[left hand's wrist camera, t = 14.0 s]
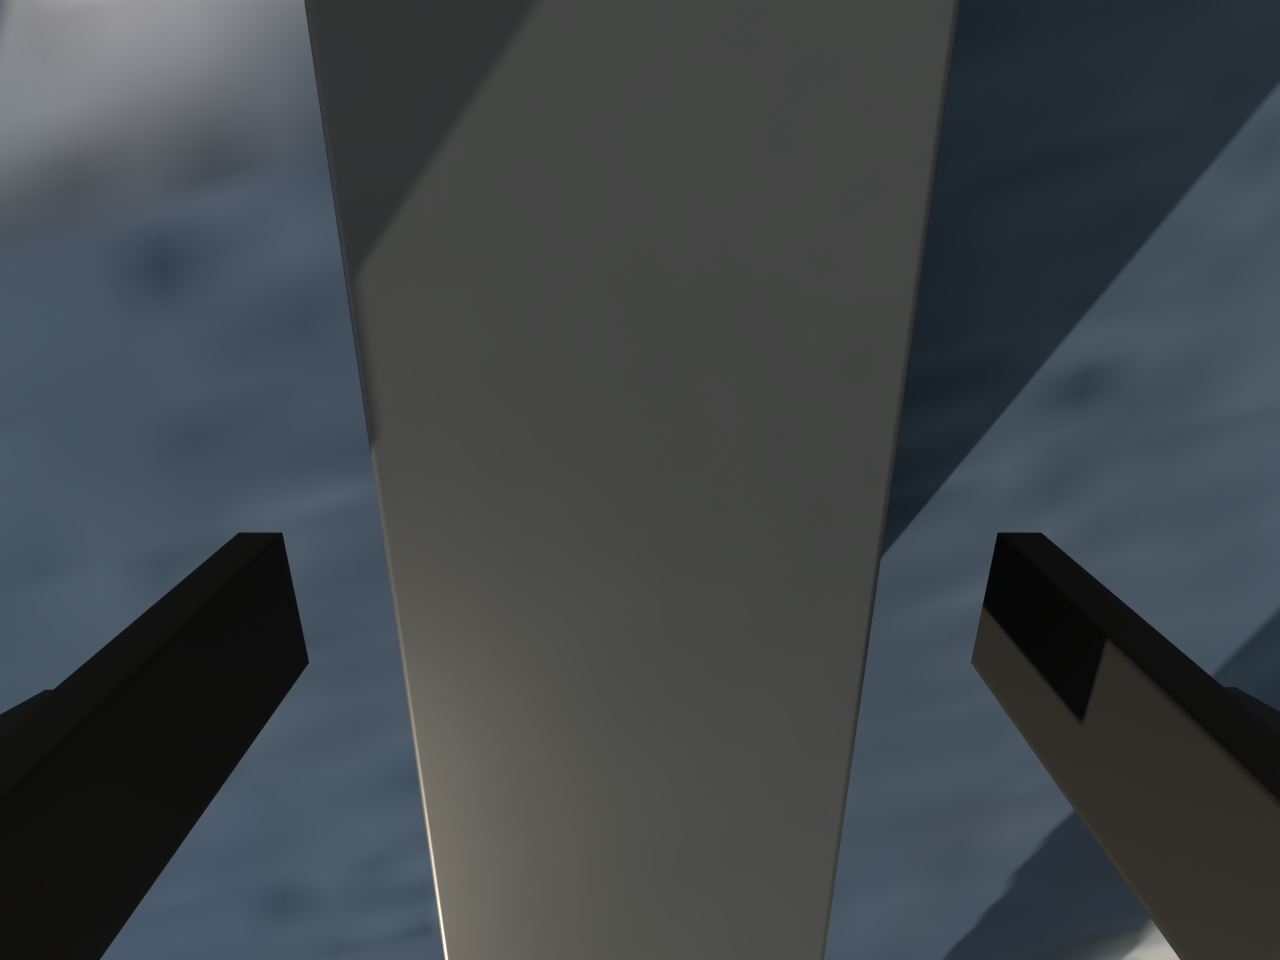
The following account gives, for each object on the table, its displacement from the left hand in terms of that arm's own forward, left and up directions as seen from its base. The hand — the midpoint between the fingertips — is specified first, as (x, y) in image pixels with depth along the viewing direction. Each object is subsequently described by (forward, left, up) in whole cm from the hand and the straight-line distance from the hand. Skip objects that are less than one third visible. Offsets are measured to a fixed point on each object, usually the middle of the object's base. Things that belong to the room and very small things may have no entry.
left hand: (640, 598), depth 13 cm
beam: (+7, +21, -4) cm, 22 cm away
